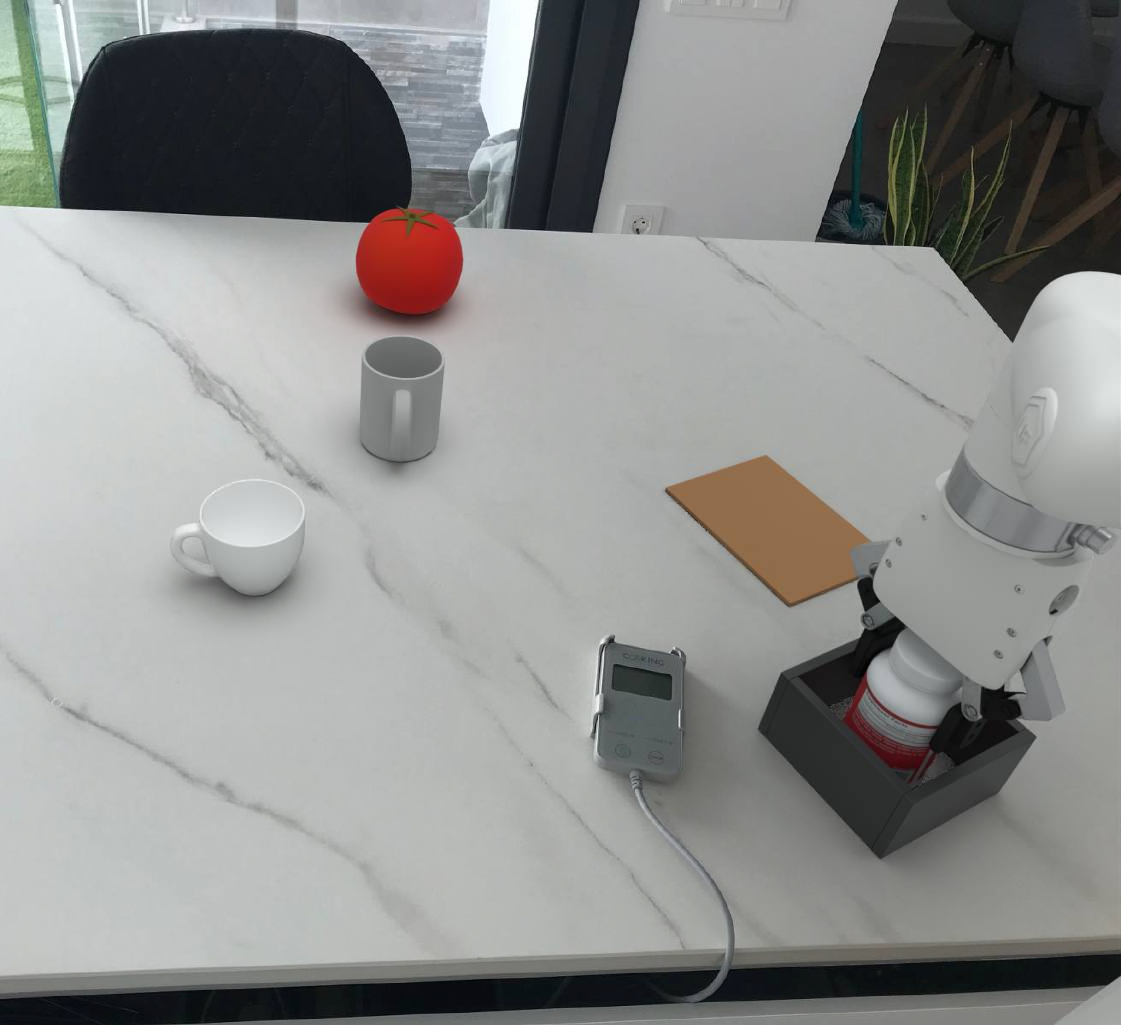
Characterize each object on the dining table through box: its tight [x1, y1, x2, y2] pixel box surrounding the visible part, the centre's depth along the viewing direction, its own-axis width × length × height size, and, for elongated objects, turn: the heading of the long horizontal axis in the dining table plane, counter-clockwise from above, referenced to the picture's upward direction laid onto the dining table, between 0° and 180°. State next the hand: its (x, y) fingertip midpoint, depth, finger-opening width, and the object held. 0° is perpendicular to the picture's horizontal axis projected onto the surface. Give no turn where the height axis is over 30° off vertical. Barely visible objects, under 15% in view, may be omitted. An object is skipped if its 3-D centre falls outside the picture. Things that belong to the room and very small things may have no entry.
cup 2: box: [358, 334, 446, 463], centre depth 95 cm, size 7×10×9 cm
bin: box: [757, 625, 1038, 860], centre depth 73 cm, size 12×12×6 cm
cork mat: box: [664, 454, 873, 607], centre depth 93 cm, size 16×12×1 cm
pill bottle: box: [841, 627, 963, 790], centre depth 71 cm, size 6×6×11 cm
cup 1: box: [170, 478, 306, 597], centre depth 82 cm, size 8×10×7 cm
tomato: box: [355, 205, 464, 315], centre depth 115 cm, size 11×12×10 cm
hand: (906, 703), depth 71 cm, fingers closed on pill bottle, 6 cm apart
